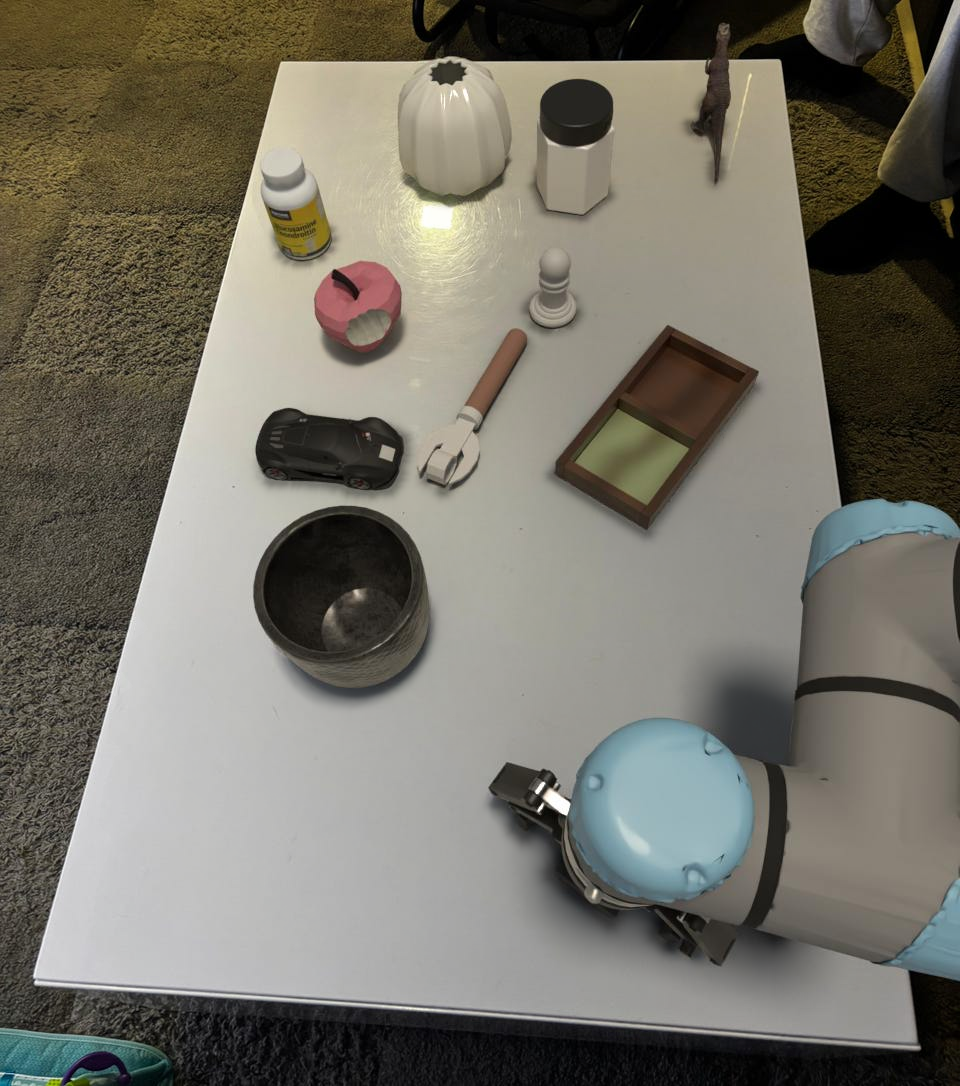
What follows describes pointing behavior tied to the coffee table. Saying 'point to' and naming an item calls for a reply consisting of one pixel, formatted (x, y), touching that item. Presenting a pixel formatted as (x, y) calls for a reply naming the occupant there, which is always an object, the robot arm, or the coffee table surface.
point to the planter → (344, 595)
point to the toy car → (329, 449)
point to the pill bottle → (294, 204)
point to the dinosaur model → (716, 92)
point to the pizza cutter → (469, 419)
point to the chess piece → (553, 290)
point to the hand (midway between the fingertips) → (599, 867)
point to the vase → (453, 127)
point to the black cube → (566, 878)
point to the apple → (358, 304)
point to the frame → (656, 425)
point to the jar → (574, 145)
